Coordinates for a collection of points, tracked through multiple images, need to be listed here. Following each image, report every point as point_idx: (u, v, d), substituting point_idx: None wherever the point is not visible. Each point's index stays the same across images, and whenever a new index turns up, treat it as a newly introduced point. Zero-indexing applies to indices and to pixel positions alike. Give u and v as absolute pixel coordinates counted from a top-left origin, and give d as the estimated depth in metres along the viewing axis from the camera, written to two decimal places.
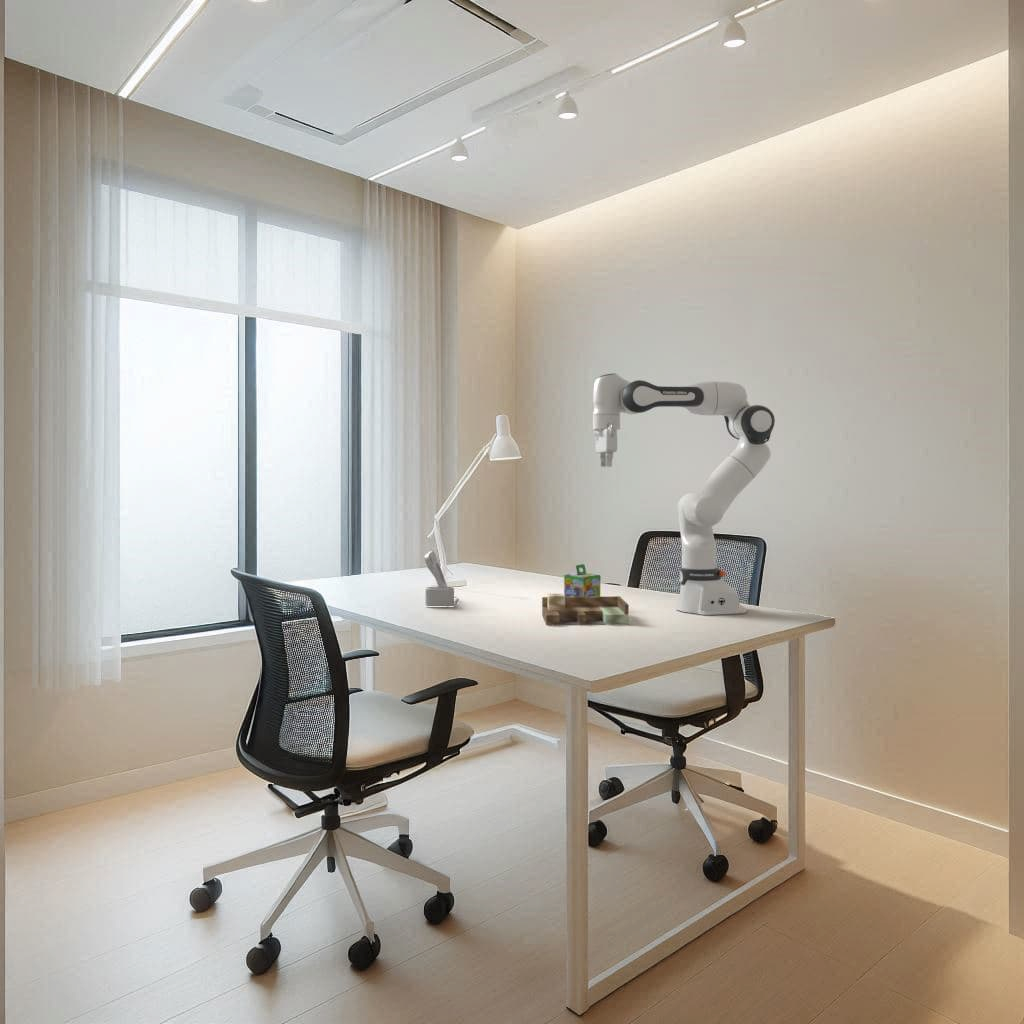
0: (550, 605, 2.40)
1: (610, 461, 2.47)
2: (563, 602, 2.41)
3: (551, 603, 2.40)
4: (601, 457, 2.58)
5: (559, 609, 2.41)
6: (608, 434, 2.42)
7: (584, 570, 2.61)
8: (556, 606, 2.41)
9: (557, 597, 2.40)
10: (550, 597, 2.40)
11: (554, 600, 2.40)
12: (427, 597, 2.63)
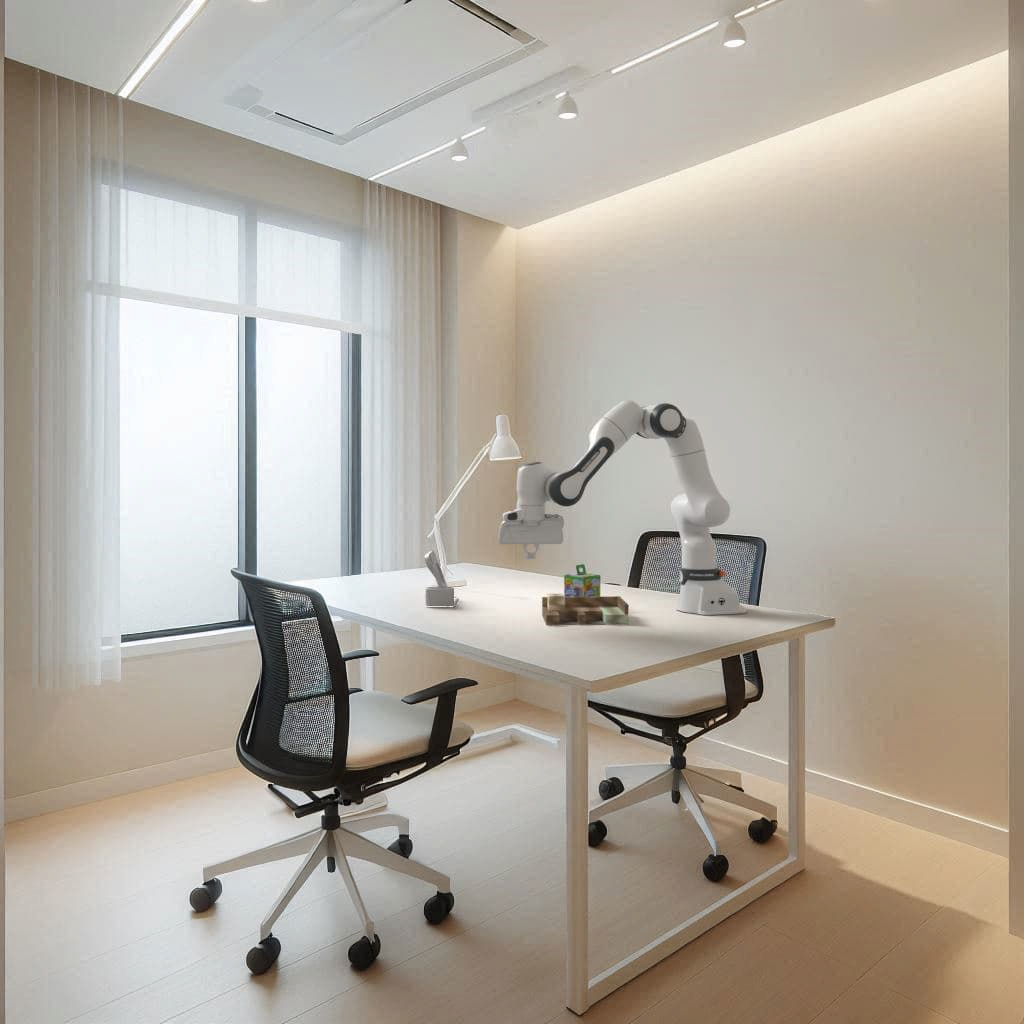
0: (550, 605, 2.40)
1: None
2: (563, 602, 2.41)
3: (551, 603, 2.40)
4: None
5: (559, 609, 2.41)
6: (561, 526, 2.40)
7: (584, 570, 2.61)
8: (556, 606, 2.41)
9: (557, 597, 2.40)
10: (550, 597, 2.40)
11: (554, 600, 2.40)
12: (427, 597, 2.63)
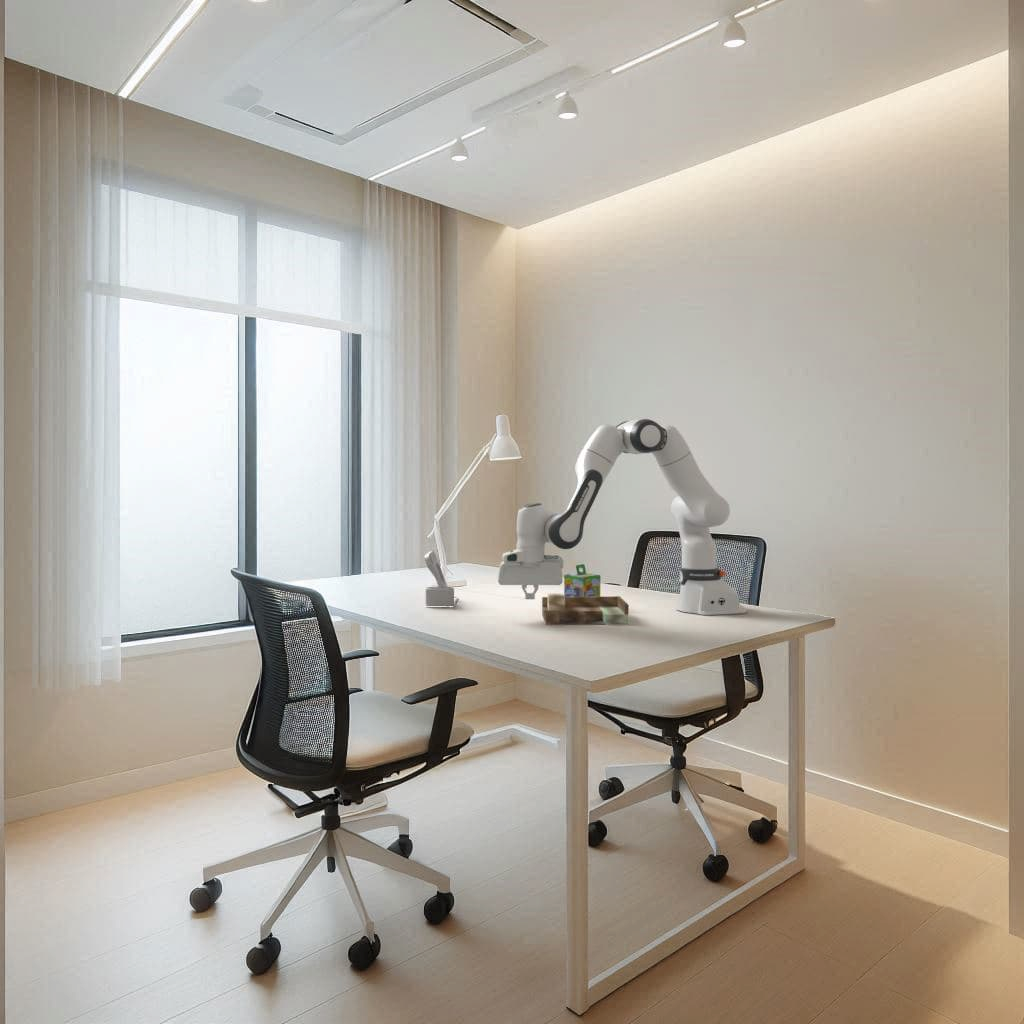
0: (550, 605, 2.40)
1: None
2: (563, 602, 2.41)
3: (551, 603, 2.40)
4: None
5: (559, 609, 2.41)
6: (560, 567, 2.41)
7: (584, 570, 2.61)
8: (556, 606, 2.41)
9: (557, 597, 2.40)
10: (550, 597, 2.40)
11: (554, 600, 2.40)
12: (427, 597, 2.63)
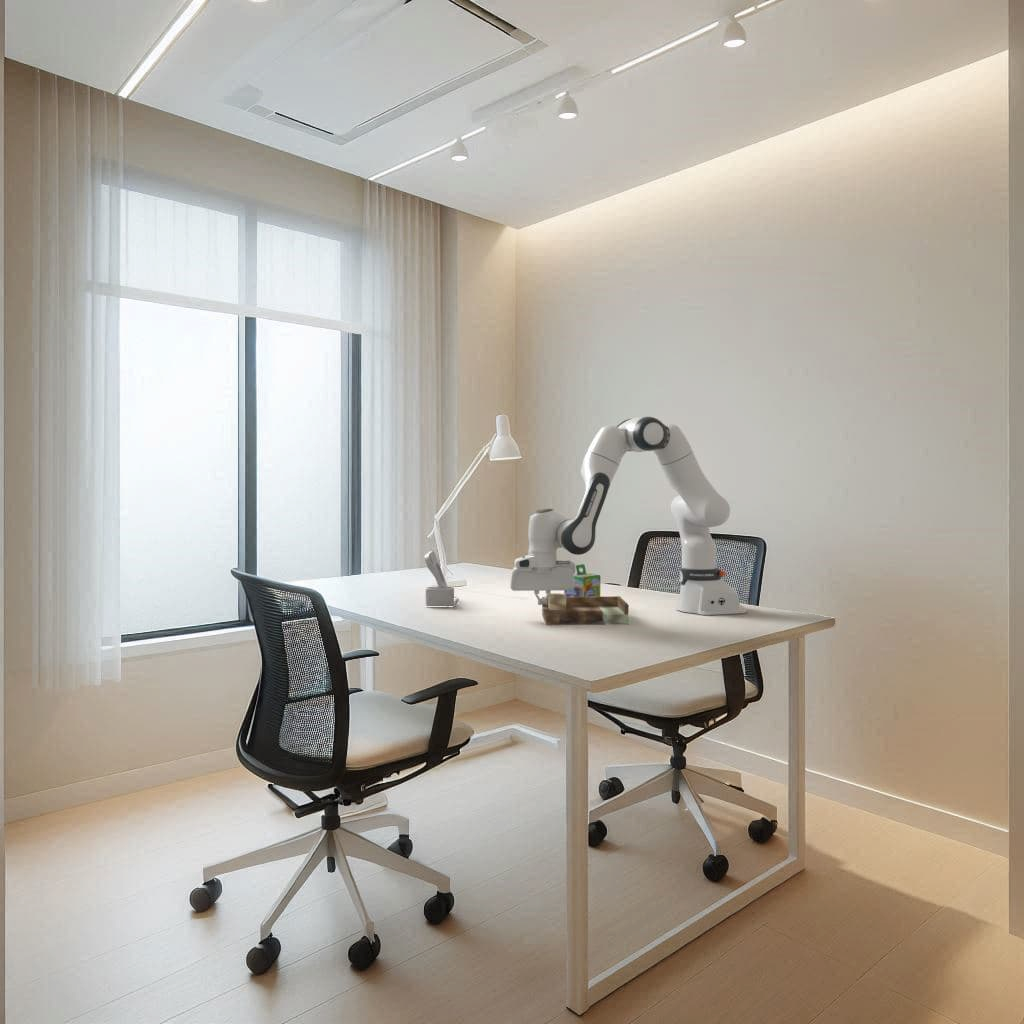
0: (551, 605, 2.40)
1: None
2: (564, 602, 2.41)
3: (552, 603, 2.40)
4: (537, 595, 2.42)
5: (560, 609, 2.41)
6: (573, 572, 2.42)
7: (584, 570, 2.61)
8: (557, 606, 2.41)
9: (558, 597, 2.40)
10: (551, 597, 2.40)
11: (555, 600, 2.40)
12: (427, 597, 2.63)
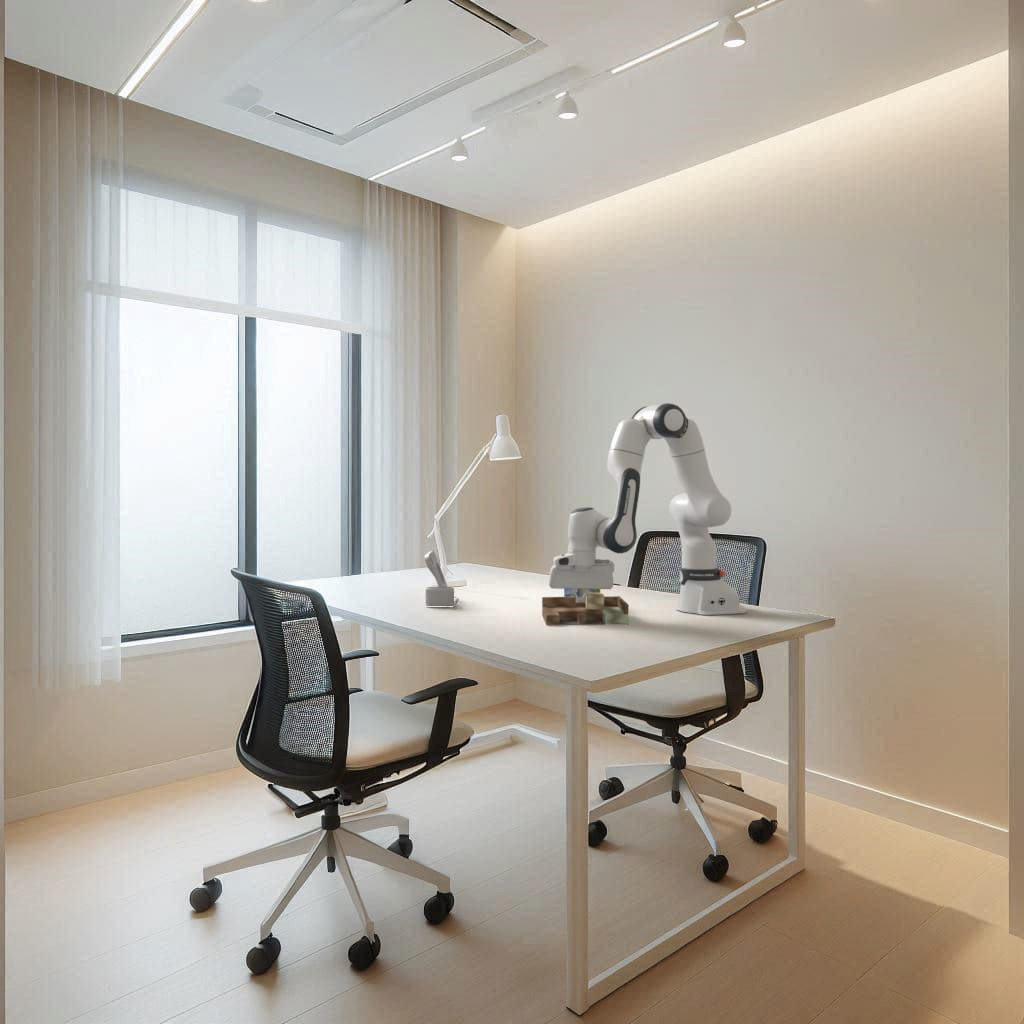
0: (589, 604, 2.41)
1: None
2: (602, 601, 2.41)
3: (590, 602, 2.41)
4: None
5: (598, 608, 2.41)
6: (611, 571, 2.42)
7: None
8: (595, 605, 2.41)
9: (596, 596, 2.41)
10: (589, 596, 2.41)
11: (593, 599, 2.41)
12: (427, 597, 2.63)
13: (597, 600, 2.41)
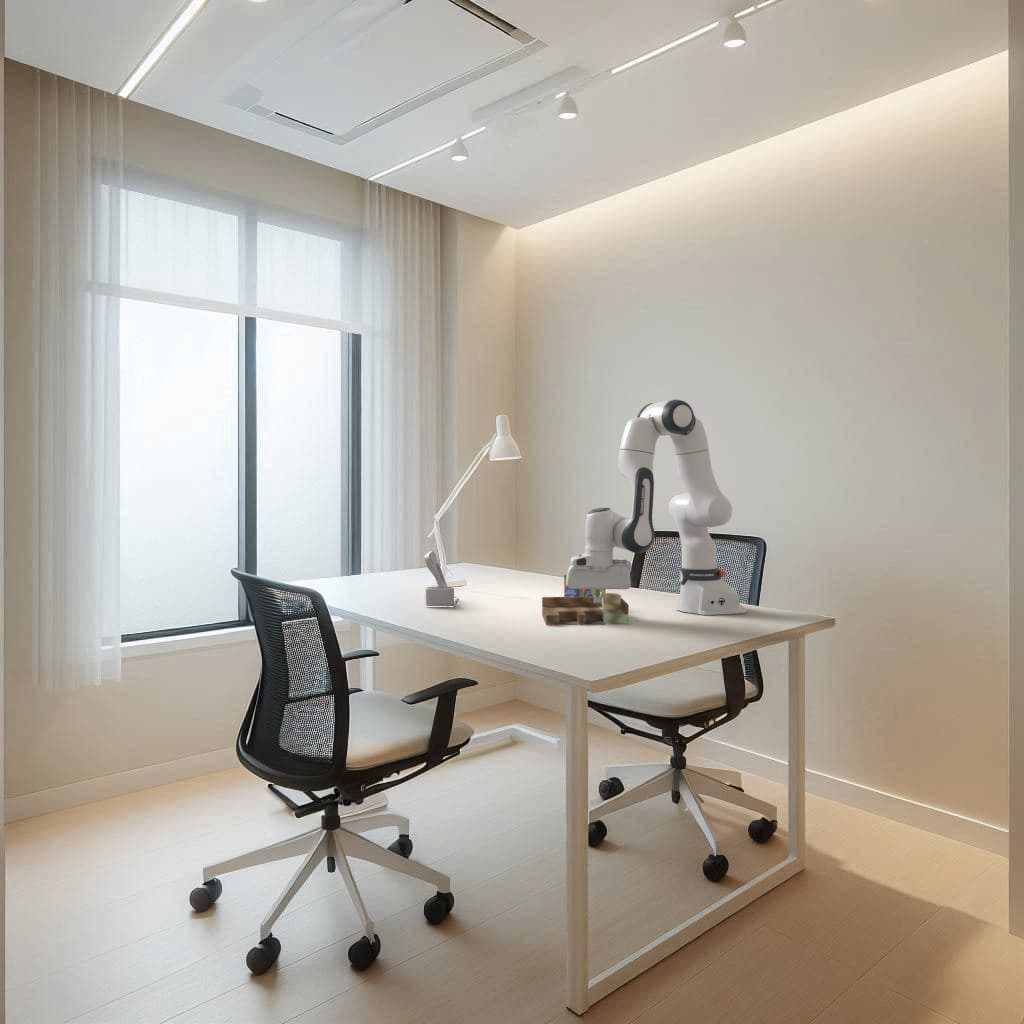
0: (606, 604, 2.41)
1: None
2: (619, 601, 2.41)
3: (607, 602, 2.41)
4: None
5: (615, 608, 2.41)
6: (629, 572, 2.42)
7: None
8: (612, 605, 2.41)
9: (613, 596, 2.41)
10: (606, 596, 2.41)
11: (610, 599, 2.41)
12: (427, 597, 2.63)
13: (614, 600, 2.41)
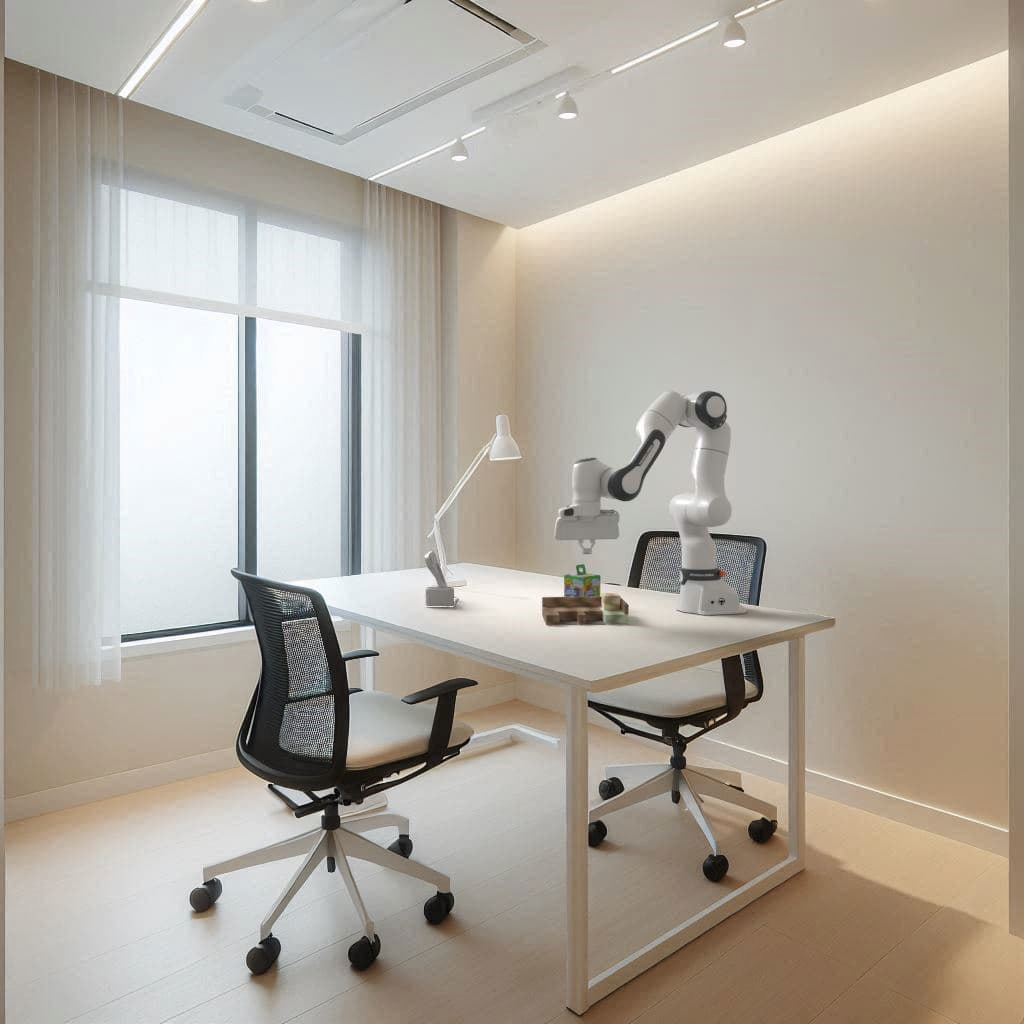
0: (605, 605, 2.41)
1: None
2: (618, 602, 2.41)
3: (606, 602, 2.41)
4: None
5: (614, 609, 2.41)
6: (617, 521, 2.41)
7: (584, 570, 2.61)
8: (611, 605, 2.41)
9: (612, 597, 2.41)
10: (605, 597, 2.41)
11: (609, 600, 2.41)
12: (427, 597, 2.63)
13: (613, 600, 2.41)
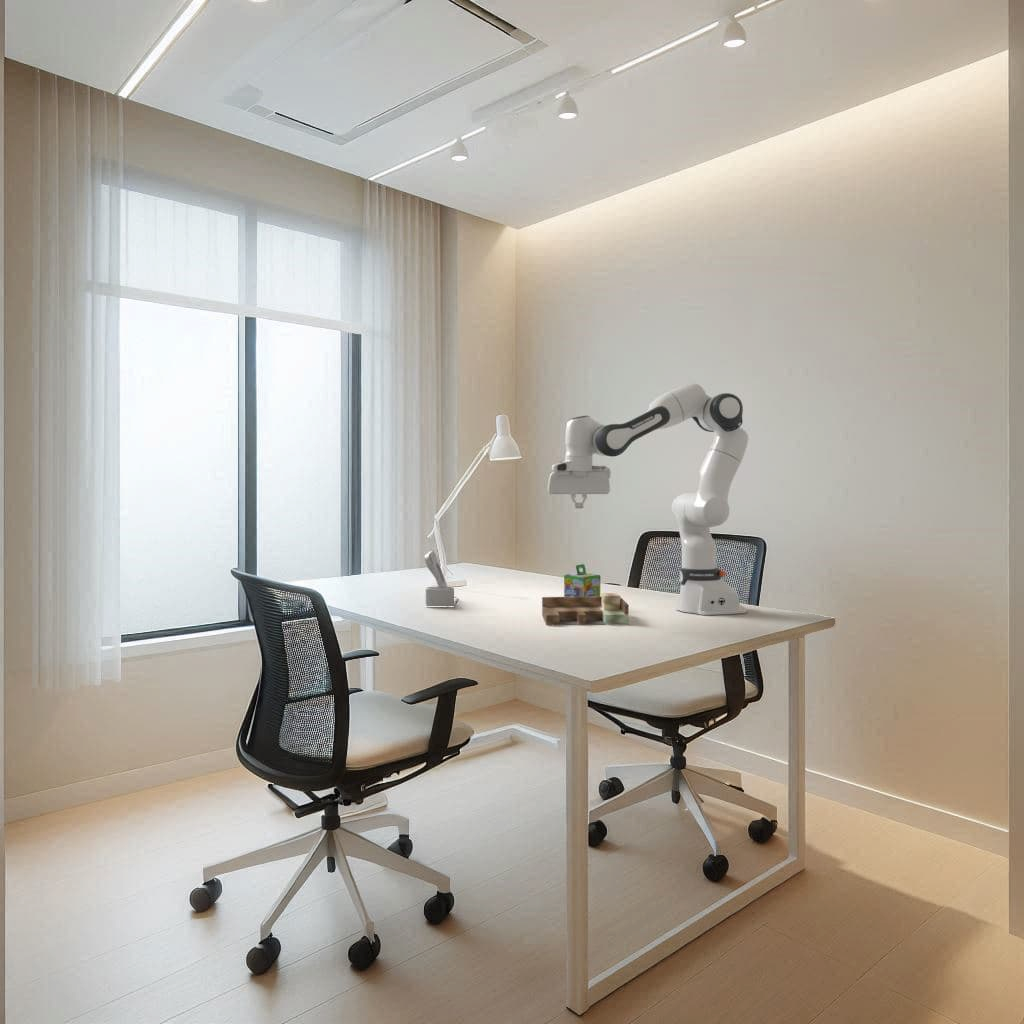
0: (605, 605, 2.41)
1: None
2: (618, 602, 2.41)
3: (606, 602, 2.41)
4: None
5: (614, 609, 2.41)
6: (608, 477, 2.52)
7: (584, 570, 2.61)
8: (611, 605, 2.41)
9: (612, 597, 2.41)
10: (605, 597, 2.41)
11: (609, 600, 2.41)
12: (427, 597, 2.63)
13: (613, 600, 2.41)
